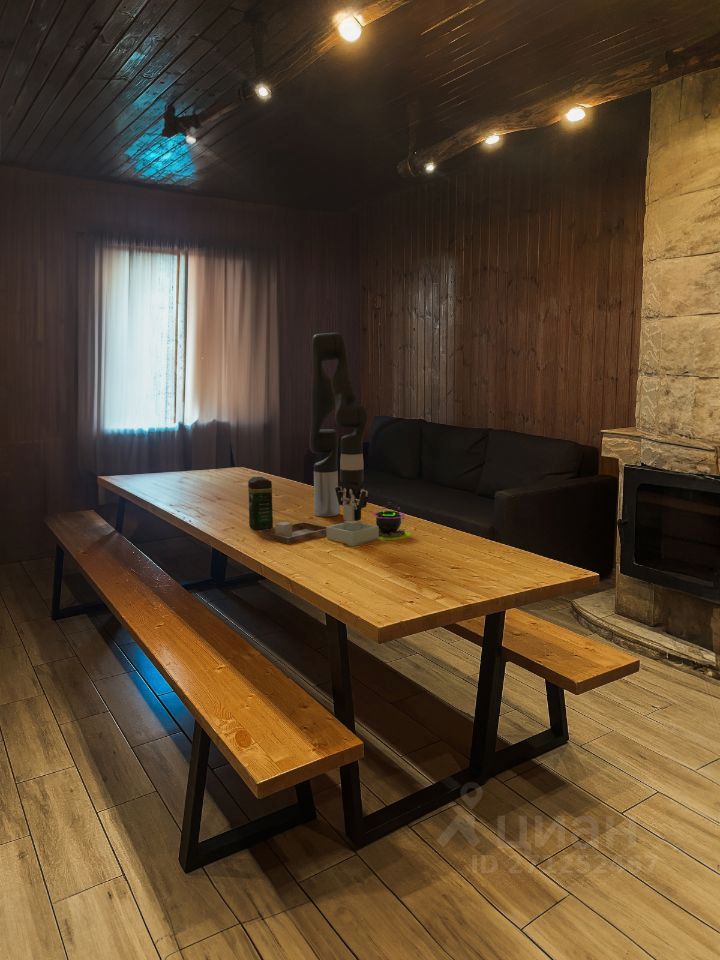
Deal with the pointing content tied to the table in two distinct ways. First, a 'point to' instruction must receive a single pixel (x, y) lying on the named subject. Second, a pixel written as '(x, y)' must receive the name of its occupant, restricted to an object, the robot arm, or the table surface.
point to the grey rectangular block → (349, 512)
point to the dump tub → (353, 534)
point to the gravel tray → (296, 533)
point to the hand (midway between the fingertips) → (352, 519)
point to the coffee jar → (260, 503)
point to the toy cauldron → (390, 525)
